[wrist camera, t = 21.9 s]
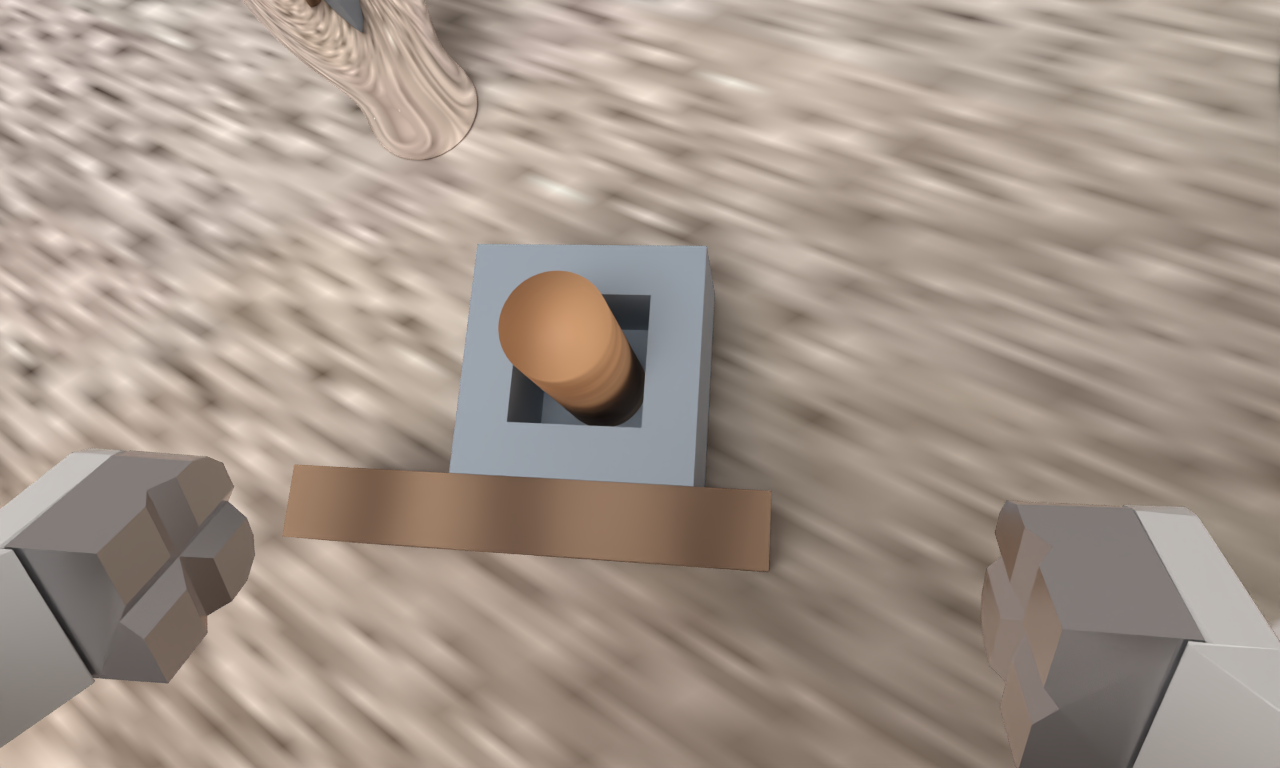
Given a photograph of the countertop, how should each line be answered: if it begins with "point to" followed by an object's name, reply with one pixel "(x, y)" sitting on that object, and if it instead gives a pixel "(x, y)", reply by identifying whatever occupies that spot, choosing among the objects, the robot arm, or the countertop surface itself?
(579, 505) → the backstop wall
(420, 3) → the beer glass
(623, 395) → the dowel
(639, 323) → the socket block
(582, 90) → the countertop surface
